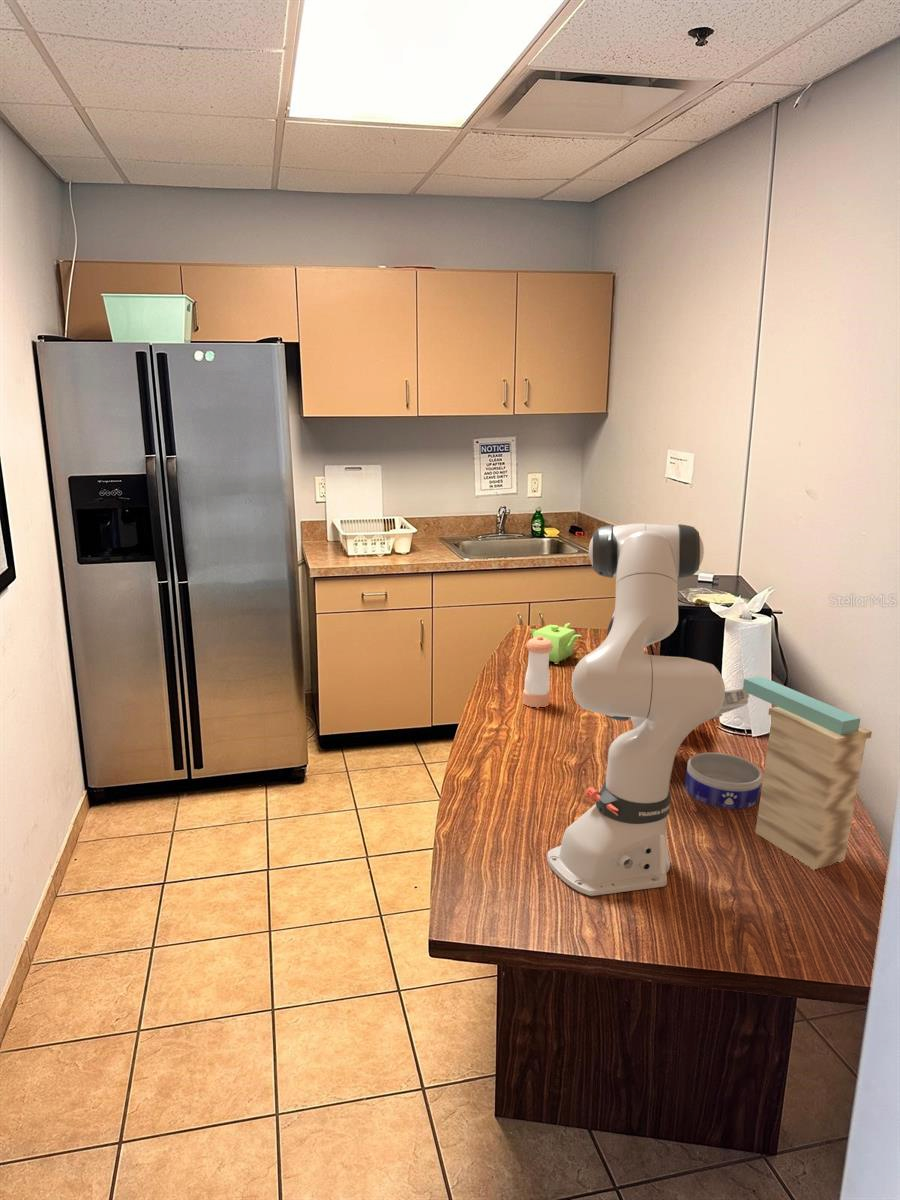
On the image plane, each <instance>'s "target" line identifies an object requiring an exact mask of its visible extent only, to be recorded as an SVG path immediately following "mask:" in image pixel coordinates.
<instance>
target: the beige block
mask: <svg viewBox="0 0 900 1200" xmlns="http://www.w3.org/2000/svg"><path fill="white" fill-rule="evenodd" d="M768 715H769V716H771V721H770V728H769V735H768V743H767V749H766V756H765V762H764V763H765V764H764V771H763V775H762V782H761V789H760V796H759V797H760V799H759V806H758V812H757V819H756V824H755V832H754V833H755V834H756V835H758V836H760V837H762V839H765V840H766V841H767V842H769V843H770V844H773V846H775V847H777V848H778V849H780V850H781V849H782V851H783V852H785V853H786V854H788V855H789V856H791V857H792V856H793V857H792V858H794V859H795V858H796V860H797V859H798V860H799V861H798V860H797V861H798V862H800V863H802V864H803V863H804V864H803V865H805V866H806V865H807V866H806V867H808V866H809V867H811V868H812V869H814V870H813V871H816V870H815V869H817V870H819V869H818V868H820V869H822V868H821V867H823V868H825V867H824V866H827V865H830V864H833V863H835V862H839V861H841V860H845V861H846V855H847V850H848V849H847V848H848V843H849V839H850V838H849V837H850V833H851V826H852V819H853V816H854V815H853V814H854V810H855V804H856V798H857V792H858V786H859V782H860V781H859V779H860V775H861V770H862V764H863V758H864V753H865V748H866V741H867V739H871V738H872V733H873V732H872V731H871V730H869V729H866V728H864V727H862V726H860V725H859V730H858V732H853V733H848V734H844V735H839V734H837V733H835V732H833V731H830V730H828V729H826V728H824V727H822V726H819V725H817V724H815V723H813V722H811V721H808V720H806V719H804V718H802V717H800V716H797V715H795V714H793V713H791V712H788V711H786V710H784V709H782V708H780V707H777V706H774V707H769V708H768ZM833 865H834V864H833ZM830 866H831V865H830ZM809 867H808V868H809ZM827 867H828V866H827ZM811 868H810V869H811ZM812 869H811V870H812Z"/></svg>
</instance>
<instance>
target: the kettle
mask: <svg viewBox="0 0 900 1200" xmlns="http://www.w3.org/2000/svg"><path fill="white" fill-rule="evenodd" d="M570 625H571V623H570V622H568V623H565V624H564V626H559V625H557V624H547V625H545V626H543V627H541V628H539V629H536V628H532V629H530V630H529V632H530V633H531V636H532V638H536V637H538V636H542V637H543V638H546V639H548V640H550V641H551V643H552V645H553V648H552V650H551V652H549V662H554V663H559V664H560V662H561V661H564V660H563V659H566V658H567V659H568V658H569V657H571V656H572V655H574V647H575V643H576V641H577V639H578V638H580V637H582V636H583V635H581V634H575V633H576V630H575V629H572V628H569V627H570Z"/></svg>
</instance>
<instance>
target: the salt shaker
mask: <svg viewBox="0 0 900 1200" xmlns="http://www.w3.org/2000/svg"><path fill="white" fill-rule="evenodd" d="M526 648H527V651H528V659H527V661H528V662H527V668H526V673H525V677H524V689H523V691H522V702H523V703H522V705H524V704H525V705H527V706H531V707H545V708H547V707H546V706H547V705H550V699H551V698H550V695H551V692H550V680H551V679H550V669H549V665H550V661H549V652H551V650H552V648H553V645H552V643H551V641H550V640H548V639H546V638H543V637H542V636H538V637H536V638H533V637H532V638H530V639H528V641H527V642H526ZM525 705H524V706H525ZM527 706H526V707H527ZM531 707H530V708H531Z"/></svg>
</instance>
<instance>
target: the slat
mask: <svg viewBox="0 0 900 1200" xmlns="http://www.w3.org/2000/svg"><path fill="white" fill-rule="evenodd" d="M742 688H743V691H744V692H747V693H748V694H749V695H752V696H753V697H754V698H757V699H760V700H762V701H765V702H767V703H769V704H771V705H773V706H774V707H780V708H782V709H784V710H786V711H788V712H791V713H793V714H795V715H797V716H800V717H802V718H804V719H806V720H808V721H811V722H813V723H815V724H817V725H819V726H822V727H824V728H826V729H828V730H830V731H833V732H835V733H837V734H839V735H844V734H848V733H853V732H858V730H859V726H860V724H861V717H859V716H856V715H854V714H851V713H849V712H847V711H844V710H842V709H839V708H838V707H835V706H832V705H830V704H828V703H825V702H823V701H820V700H819V699H816V698H813V697H811V696H809V695H807V694H804V693H802V692H800V691H797V690H795V689H792V688H790V687H788V686H785V685H783V684H781V683H778V682H776V681H773V680H771V679H769V678H767V677H764V676H761V675H759V676H753V677H746V678H743V685H742Z"/></svg>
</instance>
